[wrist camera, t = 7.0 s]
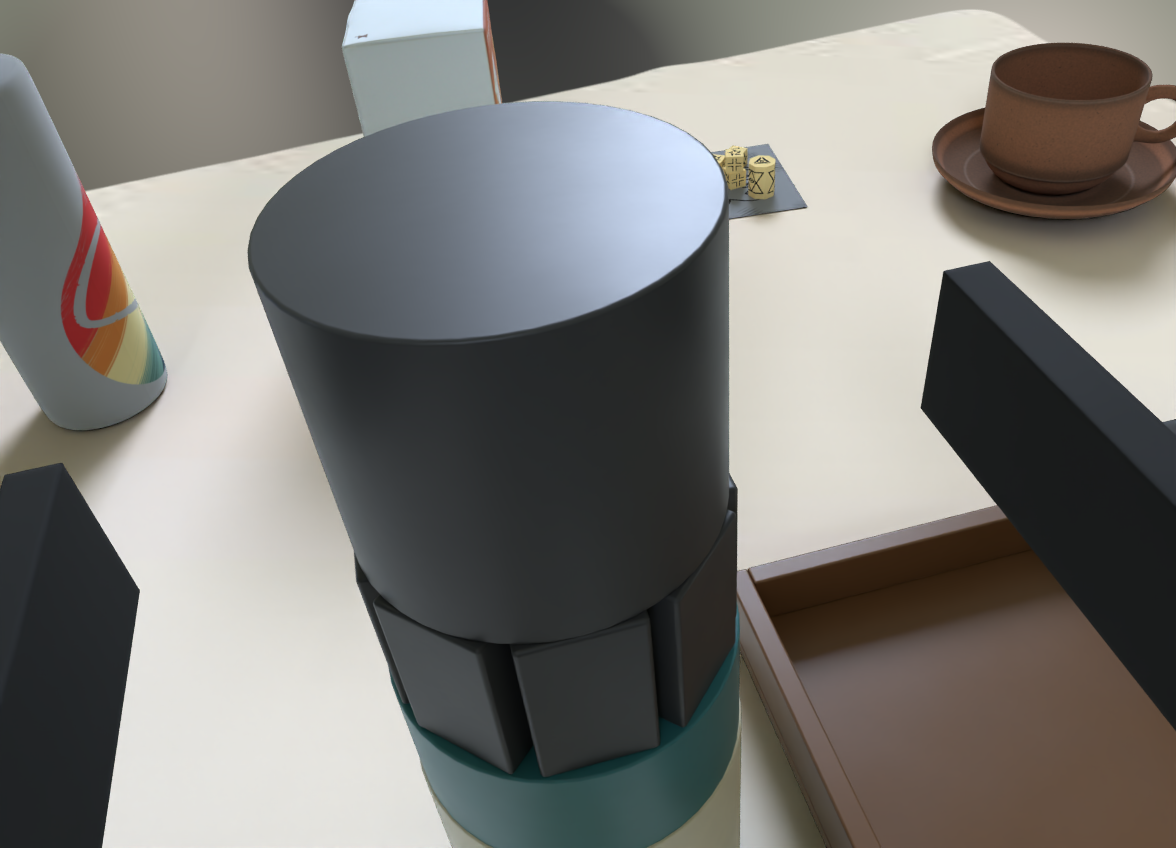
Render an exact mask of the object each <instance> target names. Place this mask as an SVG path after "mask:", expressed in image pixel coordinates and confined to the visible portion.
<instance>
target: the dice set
mask: <svg viewBox="0 0 1176 848" xmlns="http://www.w3.org/2000/svg"><path fill="white" fill-rule="evenodd" d="M713 155H714V156H715V158H716V159H717V161H718V163H719V164H720V166H721V168H722V169H723V171H724V174H725V177H726V181H727V184H728V188H729V189H730V190H731V189H736V188H738V187H743V186H746V185H747V170H746V169H745V168H744V167H745V165H746V164H747V163H748V187H747V194H748V195H749V196H751V197H753V198H754V199H768V198H769V197H772V196H774V195H775V190H776V159H775V158H774V157H772V156H771V155H764V154H758V155H755V156H753V157H750V158H749V161H748V156H749V148H748V147H744V148H743V147H738V146H732V147H731V148H729V149H725V150H724V154H716V153H713Z"/></svg>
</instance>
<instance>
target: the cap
mask: <svg viewBox="0 0 1176 848" xmlns="http://www.w3.org/2000/svg"><path fill="white" fill-rule="evenodd" d="M248 263H249V269H250V272H251V275H252V278H253V280H254V283H255V286H256V288H257V291H258V294H259V296H260V299H261V302H262V304H263V307H264V310H265V312H266V315H267V318H268V321H269V323H270V326H271V329H272V331H273V334H274V337H275V339H276V342H277V345H278V347H279V350H280V353H281V356H282V358H283V361H284V364H285V366H286V369H287V372H288V374H289V377H290V380H291V382H292V385H293V388H294V390H295V393H296V396H297V399H298V401H299V404H300V407H301V409H302V412H303V415H304V417H305V420H306V423H307V425H308V428H309V431H310V433H311V436H312V439H313V442H314V444H315V447H316V450H317V452H318V455H319V458H320V460H321V463H322V466H323V468H324V471H325V474H326V477H327V479H328V482H329V485H330V487H331V490H332V493H333V495H334V498H335V501H336V503H337V506H338V509H339V511H340V514H341V517H342V520H343V522H344V525H345V528H346V530H347V533H348V536H349V538H350V541H351V544H352V546H353V549H354V558H355V571H356V582H357V584H358V587H359V590H360V592H361V595H362V598H363V600H364V603H365V605H366V608H367V611H368V613H369V616H370V619H371V621H372V624H373V626H374V629H375V632H376V634H377V637H378V640H379V642H380V645H381V647H382V650H383V653H384V655H385V658H386V661H387V663H388V666H389V668H390V671H391V674H392V676H393V679H394V682H395V684H396V687H397V689H398V692H399V695H400V697H401V700H402V702H403V703H404V704H408V703H410V704H411V707H412V710H413V712H414V715H415V718H416V720H417V723H418V724H419V726H421V727H423V728H425V729H427V730H429V731H430V732H432V733H434V734H436V735H438V736H440V737H442V738H443V739H445V740H447V741H449V742H451V743H453V744H455V745H456V746H458V747H460V748H462V749H464V750H466V751H468V752H469V753H471V754H473V755H475V756H477V757H479V758H480V759H482V760H484V761H486V762H488V763H490V764H492V765H493V766H495V767H497V768H499V769H501V770H503V771H505V772H506V773H508V774H513V773H514V772H515V770H516V769H517V768H518V766H519V765H520V763H521V762H522V760H523V759H524V758H525V756H526V755H527V753H528V752H529V750H530V749H531V747H532V746H533V745H534V749H535V753H536V757H537V762H538V766H539V770H540V773H541V775H542V776H543V777H549V776H553V775H557V774H560V773H564V772H568V771H571V770H575V769H579V768H582V767H586V766H590V765H593V764H597V763H601V762H604V761H608V760H612V759H615V758H619V757H623V756H626V755H630V754H634V753H637V752H641V751H645V750H648V749H652V748H656V747H658V746H659V745H660V731H659V719H658V717H661V718H663V719H665V720H667V721H669V722H671V723H673V724H675V725H678V726H680V727H685V726H686V725H687V724H688V722H689V721H690V719H691V717H692V716H693V714H694V712H695V710H696V709H697V707H698V705H699V704H700V702H701V700H702V698H703V697H704V695H705V693H706V692H707V690H708V688H709V686H710V685H711V683H712V681H713V680H714V678H715V676H716V674H717V673H718V671H719V669H720V668H721V666H722V664H723V663H724V661H725V659H726V657H727V656H728V654H729V652H730V651H731V649H732V647H733V645H734V644H735V618H736V615H737V487H736V485H735V483H734V481H733V479H732V477H731V475H730V473H729V192H728V184H727V181H726V177H725V174H724V171H723V169H722V168H721V166H720V164H719V163H718V161H717V159H716V158H715V156H714V155H713V154H712V153H711V152H710V151H709V150H708V149H707V148H706V147H705V146H704V145H703V144H702V143H701V142H700V141H698V140H697V139H696V138H694V137H693V136H691V135H690V134H689V133H687V132H685V131H683V130H681V129H679V128H678V127H676V126H674V125H672V124H670V123H667V122H665V121H662V120H659V119H657V118H654V117H652V116H648V115H645V114H641V113H638V112H634V111H631V110H626V109H621V108H616V107H611V106H604V105H596V104H588V103H576V102H555V101H533V102H515V103H502V104H493V105H484V106H477V107H471V108H465V109H458V110H453V111H448V112H444V113H439V114H435V115H430V116H426V117H423V118H419V119H415V120H412V121H408V122H404V123H401V124H398V125H395V126H392V127H389V128H386V129H383V130H380V131H378V132H376V133H373V134H371V135H368V136H366V137H363V138H361V139H358V140H356V141H354V142H352V143H350V144H348V145H345V146H343V147H341V148H339V149H337V150H335V151H333V152H332V153H330V154H328V155H326V156H325V157H323V158H321V159H319V160H318V161H316V162H314V163H313V164H311V165H310V166H309V167H307V168H306V169H304V170H303V171H301V172H300V173H298V174H297V175H296V176H295V177H293V178H292V179H291V180H290V181H289V182H288V183H286V184H285V185H284V186H283V187H282V188H281V189H280V190H279V191H278V192H277V193H276V194H275V195H274V196H273V197H272V198H271V199H270V201H269V202H268V203H267V204H266V206H265V207H264V209H263V210H262V212H261V213H260V215H259V216H258V218H257V220H256V222H255V224H254V227H253V229H252V231H251V234H250V240H249V246H248Z"/></svg>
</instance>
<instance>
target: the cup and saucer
mask: <svg viewBox="0 0 1176 848" xmlns="http://www.w3.org/2000/svg"><path fill="white" fill-rule="evenodd" d="M1151 81H1152V71H1151V69H1150V68H1149V67H1148V65H1147V64H1146V63H1144V62H1143V61H1142V60H1140V59H1139V58H1137V57H1135V56H1133V55H1131V54H1128V53H1126V52H1123V51H1120V50H1116V49H1112V48H1108V47H1104V46H1098V45H1091V44H1082V43H1046V44H1037V45H1031V46H1026V47H1022V48H1018V49H1015V50H1012V51H1010V52H1007V53H1005V54H1004V55H1002V56H1000V57H999V58H998V59H997V60H996V61H995V62H994V64H993V66H992V70H991V76H990V82H989V88H988V95H987V101H986V107H985V108H982V109H978V110H975V111H972V112H969V113H966V114H964V115H961V116H959V117H957V118H955V119H953V120H952V121H950V122H949V123H947V124H946V125H945V126H943V127H942V128H941V129H940V130H939V132H938V133H937V134H936V136H935V138H934V140H933V145H932V153H933V160H934V163H935V166H936V168H937V169H938V171H939V172H940V173H941V175H942V176H943V177H944V178H945V179H946V180H947V181H948V182H949V183H950V184H951V185H952V186H954V187H955V188H956V189H957V190H959V191H960V192H962V193H963V194H965V195H966V196H968V197H970V198H972V199H974V200H976V201H978V202H980V203H983V204H985V205H988V206H991V207H993V208H996V209H1000V210H1003V211H1007V212H1011V213H1015V214H1020V215H1026V216H1032V217H1041V218H1053V219H1081V218H1092V217H1099V216H1105V215H1110V214H1115V213H1119V212H1123V211H1126V210H1129V209H1132V208H1134V207H1137V206H1139V205H1141V204H1143V203H1145V202H1147V201H1149V200H1151V199H1153V198H1155V197H1157V196H1159V195H1160V194H1161V193H1163V192H1164V191H1165V190H1166V189H1167V188H1168V187H1169V186H1170V185H1171V183H1172V182H1173V181H1174V179H1175V178H1176V146H1175V145H1174V144H1173V143H1172V141H1171V139H1173V138H1175V137H1176V121H1175V122H1174V123H1173V124H1172V125H1171V126H1169V127H1168V128H1166V129H1163V130H1159V131H1158V130H1157V129H1155V128H1154V127H1152V126H1150V125H1148V124H1146V123H1144V122H1142V121H1140V117H1141V114H1142V111H1143V107H1144V104H1146V103H1148V102H1150V101H1152V100H1155V99H1161V98H1168V99H1173V100H1175V101H1176V86H1175V85H1156V86H1151V87H1150V84H1151Z"/></svg>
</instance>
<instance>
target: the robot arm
mask: <svg viewBox="0 0 1176 848" xmlns="http://www.w3.org/2000/svg"><path fill="white" fill-rule="evenodd" d="M921 409H922V410H923V412H924V413H925V414H926V415H927V417H928V418H929V419H930V421H931V422H932V423H933V424H934V426H935V427H936V428H937V429H938V431H939V432H940V433H941V434H942V436H943V437H944V438H945V440H946V441H947V442H948V443H949V445H950V446H951V447H952V448H953V450H954V451H955V452H956V453H957V455H958V456H959V457H960V459H961V460H962V461H963V462H964V464H965V465H966V466H967V467H968V469H969V470H970V471H971V472H972V474H973V475H974V476H975V478H976V479H977V480H978V481H979V483H980V484H981V485H982V486H983V488H984V489H985V490H986V491H987V493H988V494H989V495H990V497H991V498H992V499H993V500H994V502H995V503H996V504H997V505H998V507H999V508H1000V509H1001V510H1002V512H1003V513H1004V514H1005V516H1006V517H1007V518H1008V519H1009V521H1010V522H1011V523H1012V524H1013V526H1014V527H1015V528H1016V529H1017V531H1018V532H1019V533H1020V535H1021V536H1022V537H1023V538H1024V540H1025V541H1026V542H1027V543H1028V545H1029V546H1030V547H1031V548H1032V550H1033V551H1034V552H1035V554H1036V555H1037V556H1038V557H1039V559H1040V560H1041V561H1042V562H1043V564H1044V565H1045V566H1046V567H1047V569H1048V570H1049V571H1050V573H1051V574H1052V575H1053V576H1054V578H1055V579H1056V580H1057V581H1058V583H1059V584H1060V585H1061V586H1062V588H1063V589H1064V590H1065V592H1066V593H1067V594H1068V595H1069V597H1070V598H1071V599H1072V600H1073V602H1074V603H1075V604H1076V605H1077V607H1078V608H1079V609H1080V611H1081V612H1082V613H1083V614H1084V616H1085V617H1086V618H1087V619H1088V621H1089V622H1090V623H1091V624H1092V626H1093V627H1094V628H1095V630H1096V631H1097V632H1098V633H1099V635H1100V636H1101V637H1102V638H1103V640H1104V641H1105V642H1106V643H1107V645H1108V646H1109V647H1110V649H1111V650H1112V651H1113V652H1114V654H1115V655H1116V656H1117V657H1118V659H1119V660H1120V661H1121V662H1122V664H1123V665H1124V666H1125V668H1126V669H1127V670H1128V671H1129V673H1130V674H1131V675H1132V676H1133V678H1134V679H1135V680H1136V681H1137V683H1138V684H1139V685H1140V687H1141V688H1142V689H1143V690H1144V692H1145V693H1146V694H1147V695H1148V697H1149V698H1150V699H1151V700H1152V702H1153V703H1154V704H1155V706H1156V707H1157V708H1158V709H1159V711H1160V712H1161V713H1162V714H1163V716H1164V717H1165V718H1166V719H1167V721H1168V722H1169V723H1170V725H1171V726H1172V727H1173V728H1174V730H1175V731H1176V419H1174V420H1170V421H1166V422H1161V421H1160V420H1159V419H1158V418H1157V417H1156V416H1155V415H1154V414H1153V413H1152V412H1151V411H1150V410H1149V409H1147V408H1146V407H1145V406H1144V405H1143V404H1142V403H1141V402H1140V401H1139V400H1138V399H1137V398H1136V397H1135V396H1134V395H1132V394H1131V393H1130V392H1129V391H1128V390H1127V389H1126V388H1125V387H1124V386H1123V385H1122V384H1121V383H1120V382H1119V381H1117V380H1116V379H1115V378H1114V377H1113V376H1112V375H1111V374H1110V373H1109V372H1108V371H1107V370H1106V369H1105V368H1104V367H1103V366H1101V365H1100V364H1099V363H1098V362H1097V361H1096V360H1095V359H1094V358H1093V357H1092V356H1091V355H1090V354H1089V353H1088V352H1086V351H1085V350H1084V349H1083V348H1082V347H1081V346H1080V345H1079V344H1078V343H1077V342H1076V341H1075V340H1074V339H1073V338H1071V337H1070V336H1069V335H1068V334H1067V333H1066V332H1065V331H1064V330H1063V329H1062V328H1061V327H1060V326H1059V325H1058V324H1056V323H1055V322H1054V321H1053V320H1052V319H1051V318H1050V317H1049V316H1048V315H1047V314H1046V313H1045V312H1044V311H1043V310H1041V309H1040V308H1039V307H1038V306H1037V305H1036V304H1035V303H1034V302H1033V301H1032V300H1031V299H1030V298H1029V297H1028V296H1026V295H1025V294H1024V293H1023V292H1022V291H1021V290H1020V289H1019V288H1018V287H1017V286H1016V285H1015V284H1014V283H1013V282H1011V281H1010V280H1009V279H1008V278H1007V277H1006V276H1005V275H1004V274H1003V273H1002V272H1001V271H1000V270H999V269H998V268H996V267H995V266H994V265H993V264H992V263H991V262H990V261H988V262H983V263H979V264H974V265H969V266H965V267H960V268H956V269H951V270H946V271H944V272H943V278H942V284H941V290H940V295H939V301H938V307H937V313H936V319H935V325H934V331H933V337H932V343H931V349H930V355H929V361H928V367H927V373H926V379H925V385H924V391H923V397H922V403H921ZM139 593H140V590H139V588H138V587H137V585H136V584H135V582H134V580H133V579H132V577H131V575H130V574H129V572H128V570H127V569H126V567H125V565H124V564H123V562H122V560H121V559H120V557H119V556H118V554H117V552H116V551H115V549H114V547H113V546H112V544H111V542H110V541H109V539H108V537H107V536H106V534H105V532H104V531H103V529H102V528H101V526H100V524H99V523H98V521H97V519H96V518H95V516H94V514H93V513H92V511H91V509H90V508H89V506H88V504H87V503H86V501H85V500H84V498H83V496H82V495H81V493H80V491H79V490H78V488H77V486H76V485H75V483H74V481H73V480H72V478H71V476H70V475H69V473H68V472H67V470H66V468H65V467H64V465H63V463H58V464H53V465H49V466H44V467H40V468H35V469H30V470H26V471H21V472H17V473H12V474H7V475H4V478H3V482H2V485H1V488H0V848H102V843H103V837H104V830H105V823H106V816H107V809H108V803H109V796H110V789H111V782H112V776H113V769H114V762H115V755H116V749H117V742H118V735H119V728H120V721H121V715H122V708H123V701H124V694H125V688H126V681H127V674H128V667H129V660H130V654H131V647H132V640H133V633H134V627H135V620H136V613H137V606H138V600H139Z"/></svg>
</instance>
